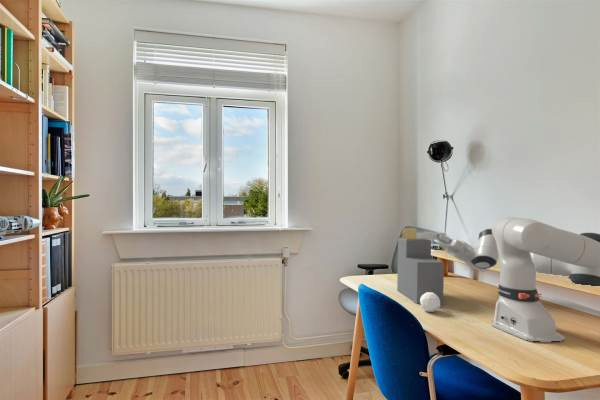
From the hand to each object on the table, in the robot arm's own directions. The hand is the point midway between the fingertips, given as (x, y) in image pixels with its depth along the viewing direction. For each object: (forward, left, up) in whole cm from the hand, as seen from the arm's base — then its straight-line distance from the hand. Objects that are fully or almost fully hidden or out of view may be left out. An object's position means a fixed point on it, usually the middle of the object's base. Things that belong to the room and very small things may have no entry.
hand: (436, 235), depth 174 cm
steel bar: (0, +6, -2) cm, 7 cm away
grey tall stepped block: (-6, +11, -28) cm, 31 cm away
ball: (-27, +16, -28) cm, 42 cm away
